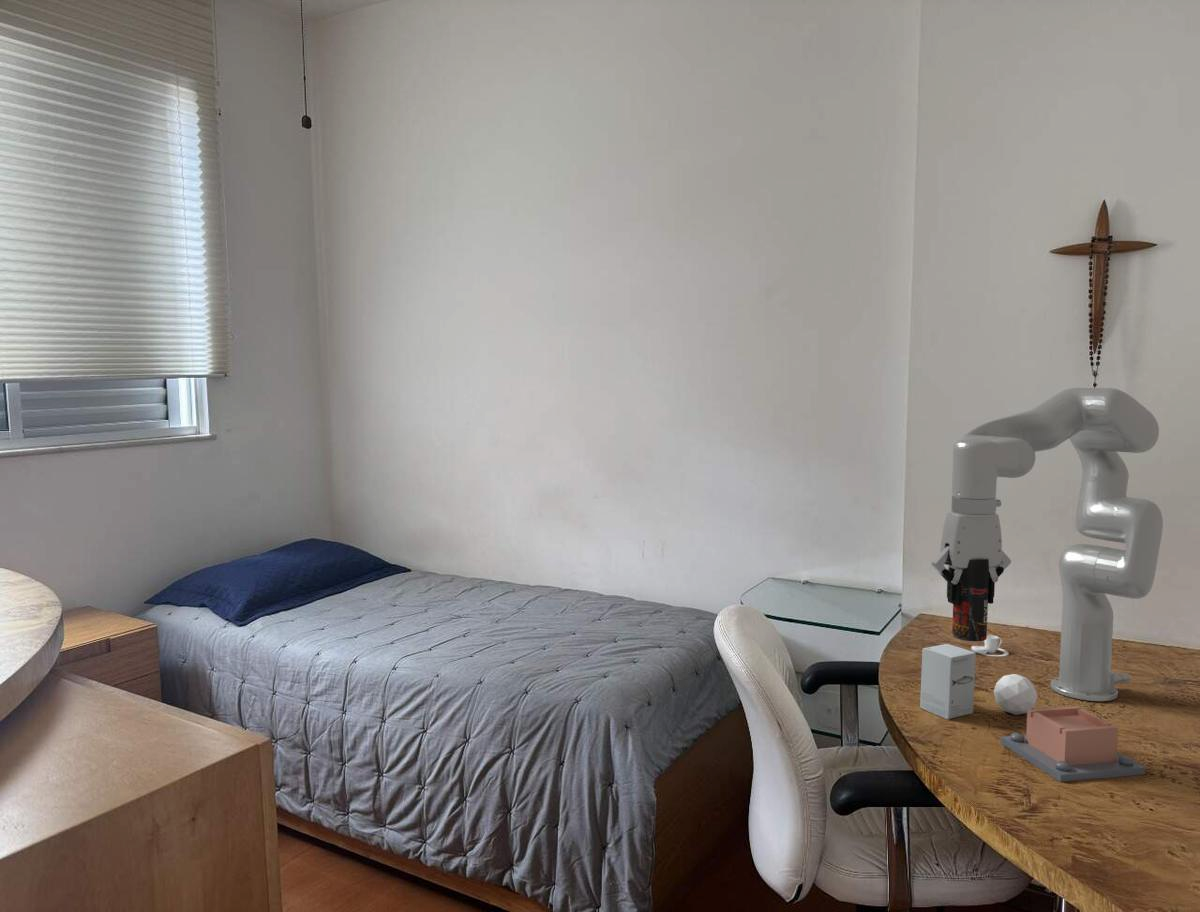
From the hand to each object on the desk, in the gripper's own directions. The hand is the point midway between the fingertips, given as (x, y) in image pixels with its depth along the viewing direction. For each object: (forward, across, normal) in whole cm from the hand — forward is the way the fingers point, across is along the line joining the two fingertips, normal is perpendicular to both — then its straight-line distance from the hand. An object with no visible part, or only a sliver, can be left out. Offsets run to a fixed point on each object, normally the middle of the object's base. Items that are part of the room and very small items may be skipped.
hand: (970, 601), depth 164 cm
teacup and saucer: (+26, -34, -47) cm, 64 cm away
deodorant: (+7, 0, 0) cm, 7 cm away
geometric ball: (+26, -16, -8) cm, 31 cm away
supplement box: (+26, -3, -11) cm, 28 cm away
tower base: (+25, -12, +13) cm, 31 cm away
